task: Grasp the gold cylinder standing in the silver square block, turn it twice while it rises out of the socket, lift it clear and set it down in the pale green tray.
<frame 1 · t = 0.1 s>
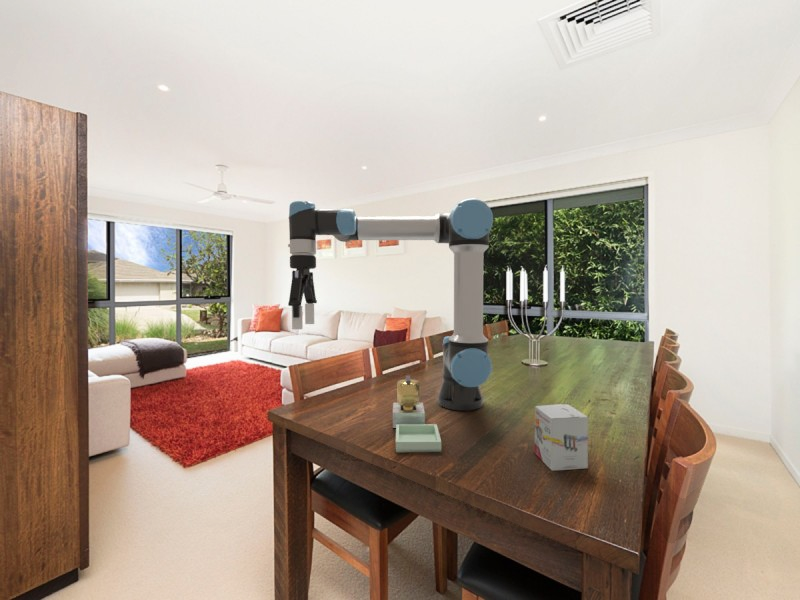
hand: (304, 326, 107), 28 cm above the table, fingers open, 13 cm apart
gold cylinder: (408, 400, 105), in the silver square block
tray: (417, 442, 92), on the table
silver square block: (408, 422, 105), on the table
ink box: (559, 461, 82), on the table
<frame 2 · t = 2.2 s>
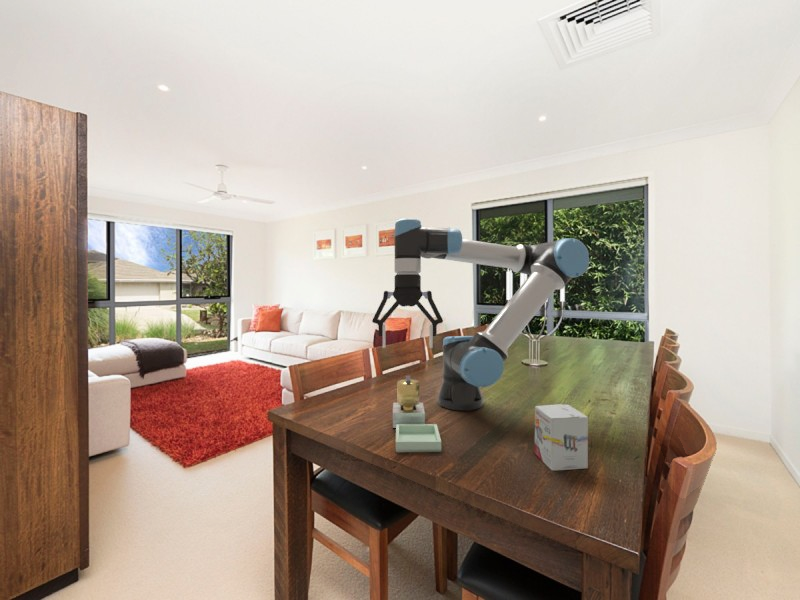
hand: (407, 347, 104), 22 cm above the table, fingers open, 13 cm apart
nothing on the table moved.
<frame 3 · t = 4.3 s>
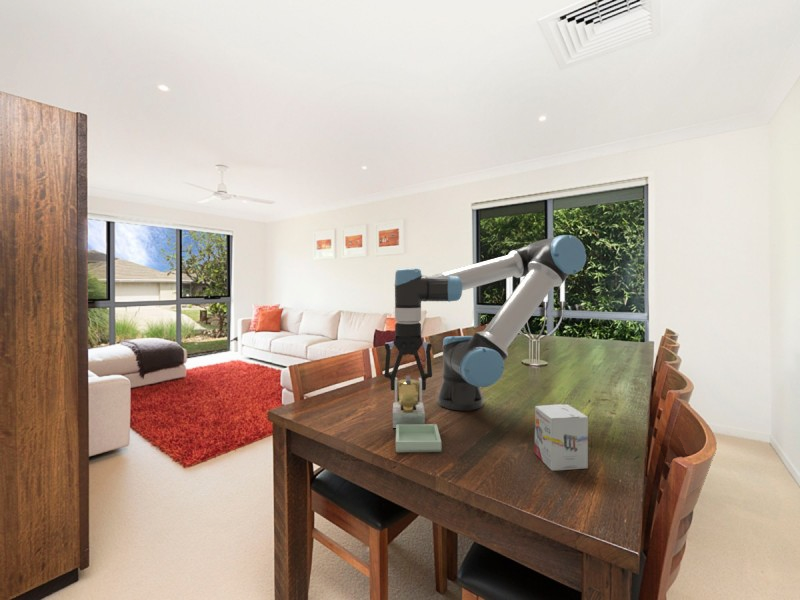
hand: (408, 400, 105), 6 cm above the table, fingers closed on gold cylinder, 6 cm apart
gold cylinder: (408, 400, 105), in the silver square block, touching gripper
everything else where it was.
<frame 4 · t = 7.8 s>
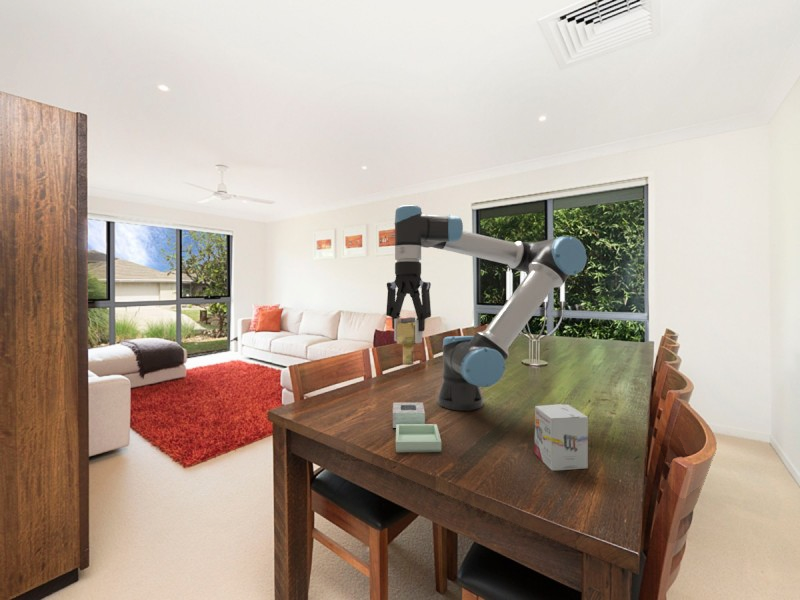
hand: (408, 341, 103), 24 cm above the table, fingers closed on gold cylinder, 6 cm apart
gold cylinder: (408, 341, 103), point 24 cm above the table, touching gripper
everything else where it was.
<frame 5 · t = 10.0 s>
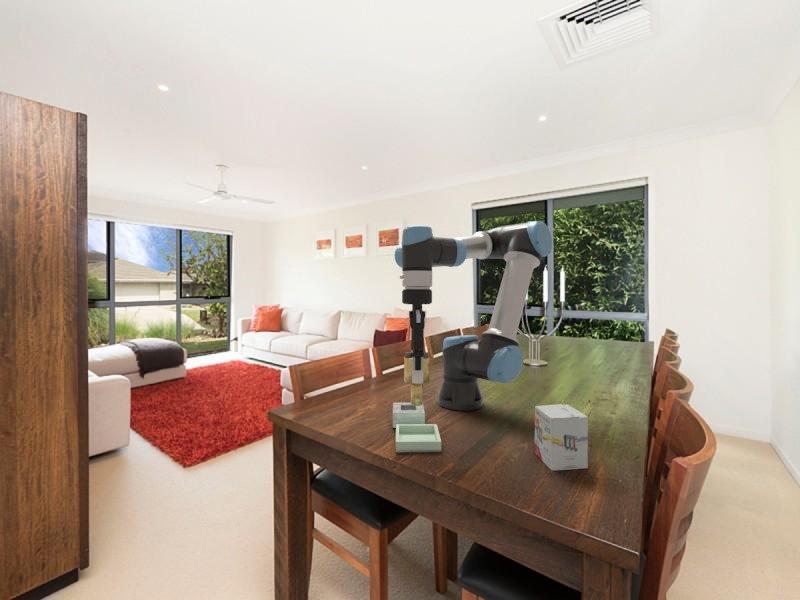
hand: (416, 379, 91), 16 cm above the table, fingers closed on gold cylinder, 6 cm apart
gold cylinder: (416, 378, 91), point 16 cm above the table, touching gripper
everything else where it was.
when the fingers open (8 cm above the table, at t = 11.8 s): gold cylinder drops 1 cm, resting on tray.
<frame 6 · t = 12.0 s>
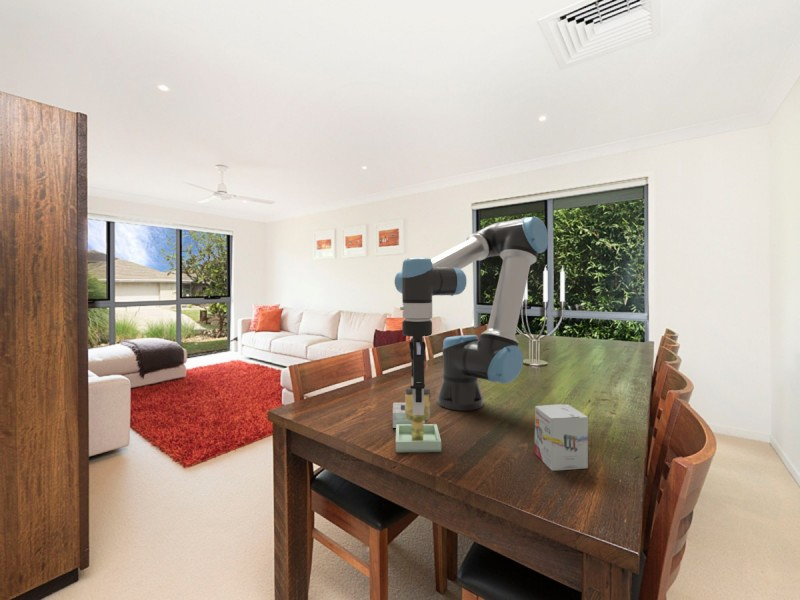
hand: (417, 407, 91), 9 cm above the table, fingers open, 9 cm apart
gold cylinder: (417, 414, 92), in the tray
everything else where it was.
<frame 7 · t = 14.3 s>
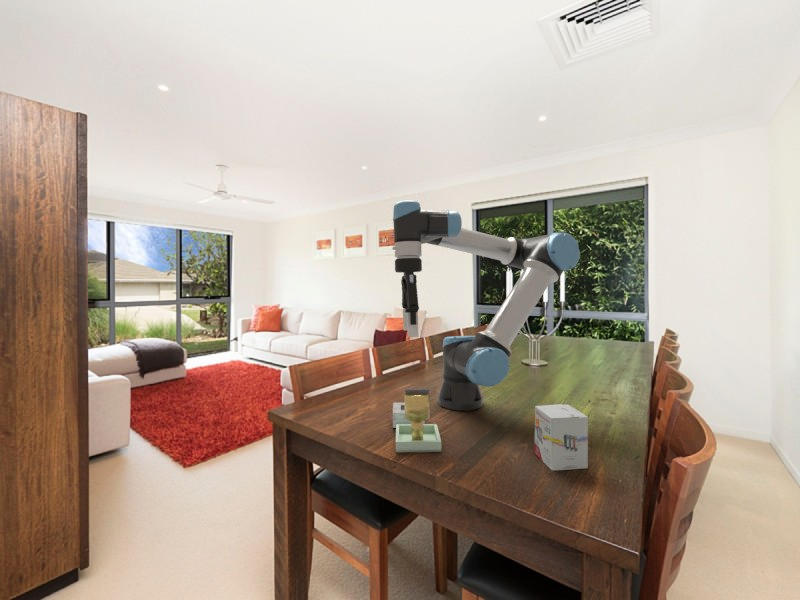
hand: (410, 333, 102), 27 cm above the table, fingers open, 13 cm apart
nothing on the table moved.
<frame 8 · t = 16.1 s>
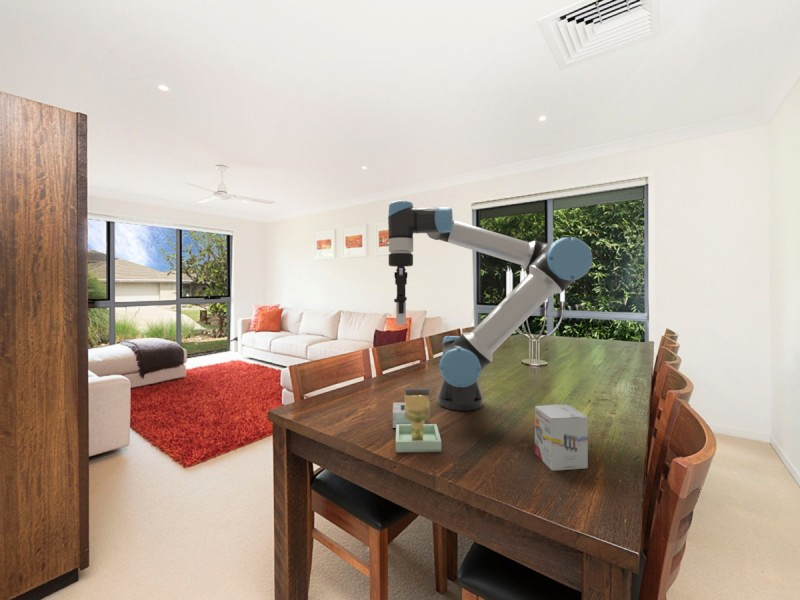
hand: (401, 322, 111), 29 cm above the table, fingers open, 13 cm apart
nothing on the table moved.
at the end: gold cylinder inside the target area on the tray (0.1 cm from its centre), point 7.1 cm above the tray's base; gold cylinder touching tray; the gripper is holding nothing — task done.
